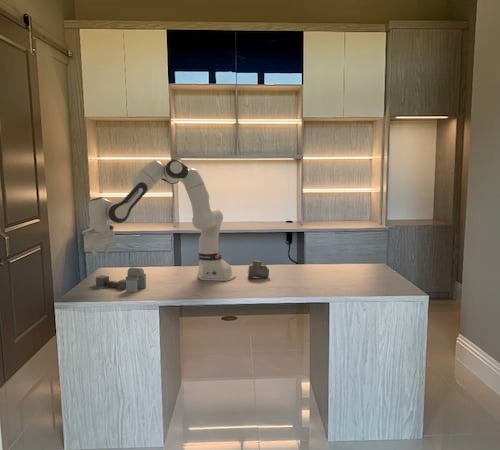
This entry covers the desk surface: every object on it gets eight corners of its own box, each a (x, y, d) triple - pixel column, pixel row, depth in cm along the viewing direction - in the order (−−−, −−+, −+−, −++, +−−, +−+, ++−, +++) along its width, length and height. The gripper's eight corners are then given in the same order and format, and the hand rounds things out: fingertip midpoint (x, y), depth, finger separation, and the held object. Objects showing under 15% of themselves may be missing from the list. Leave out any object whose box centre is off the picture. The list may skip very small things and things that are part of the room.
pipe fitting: (247, 279, 247) (249, 261, 247) (246, 276, 255) (248, 259, 255) (268, 281, 247) (270, 263, 247) (267, 278, 255) (269, 261, 255)
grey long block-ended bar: (129, 287, 235) (129, 279, 234) (124, 289, 230) (124, 281, 230) (99, 282, 242) (99, 274, 241) (93, 285, 238) (93, 276, 237)
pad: (114, 284, 241) (114, 283, 241) (103, 288, 233) (103, 287, 233) (101, 283, 244) (101, 282, 244) (89, 287, 236) (89, 286, 236)
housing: (146, 287, 234) (145, 266, 232) (136, 292, 225) (135, 270, 224) (136, 286, 236) (135, 265, 234) (126, 291, 227) (125, 269, 226)
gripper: (90, 231, 223) (92, 258, 225) (115, 225, 242) (117, 250, 244) (80, 230, 225) (82, 257, 227) (106, 225, 244) (108, 250, 246)
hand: (100, 253), depth 236 cm, fingers open, 8 cm apart
